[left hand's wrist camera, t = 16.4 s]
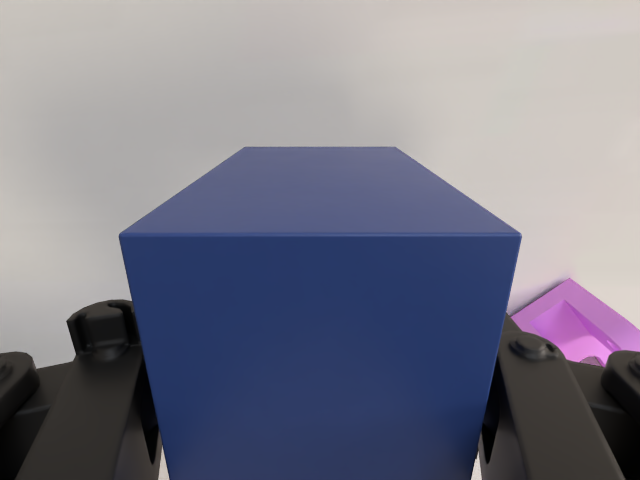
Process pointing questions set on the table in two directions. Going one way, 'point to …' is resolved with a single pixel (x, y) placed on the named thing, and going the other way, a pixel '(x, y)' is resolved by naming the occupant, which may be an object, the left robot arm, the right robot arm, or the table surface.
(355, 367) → the bar
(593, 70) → the table surface
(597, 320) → the bracket
